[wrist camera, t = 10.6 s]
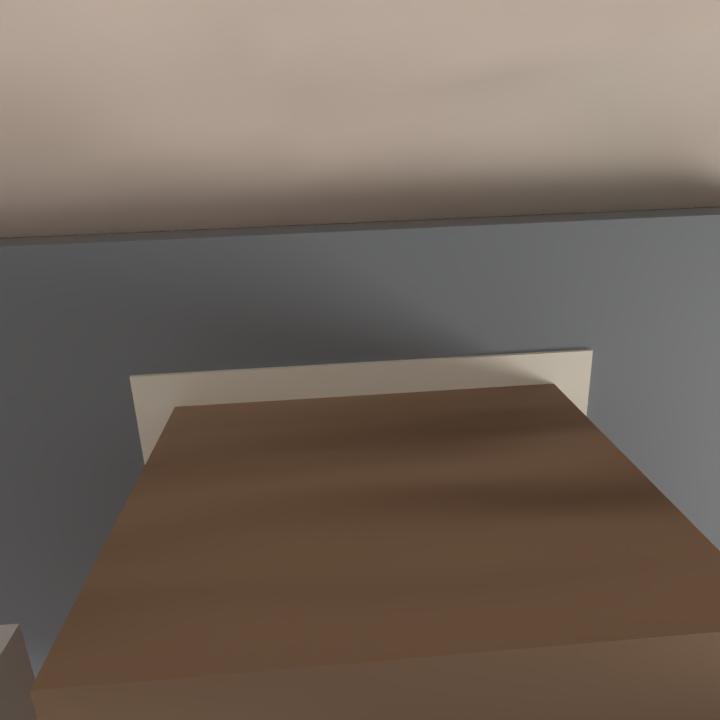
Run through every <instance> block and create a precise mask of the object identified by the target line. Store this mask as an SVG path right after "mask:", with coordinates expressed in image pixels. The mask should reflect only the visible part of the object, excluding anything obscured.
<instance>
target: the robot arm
mask: <svg viewBox="0 0 720 720" xmlns="http://www.w3.org/2000/svg"><path fill="white" fill-rule="evenodd" d="M34 681H35V677H34V673H33V670H32V666H31V663H30V659H29V656H28V652H27V649H26V645H25V642H24V638H23V635H22V631H21V628H20V624H7V625H0V720H37V717H36V713H35V710H34V706H33V703H32V699H31V696H30V692H29V691H30V689H31V687H32V685H33V683H34Z"/></svg>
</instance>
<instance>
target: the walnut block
mask: <svg viewBox="0 0 720 720" xmlns="http://www.w3.org/2000/svg"><path fill="white" fill-rule="evenodd" d="M29 692H30V696H31V699H32V703H33V706H34V710H35V713H36V717H37V720H720V551H719V550H718V549H717V548H716V547H715V546H714V545H713V544H712V543H711V542H710V541H709V540H708V539H707V538H706V537H705V536H704V535H703V534H702V533H701V532H700V531H699V530H698V529H697V528H696V527H695V526H694V524H693V523H692V522H691V521H690V520H689V519H688V518H687V517H686V516H685V515H684V514H683V513H682V512H681V511H680V510H679V509H678V508H677V507H676V506H675V505H674V504H673V503H672V502H671V501H670V500H669V499H668V498H667V497H666V496H665V495H664V494H663V493H662V492H661V491H660V490H659V489H658V488H657V487H656V486H655V485H654V484H653V483H652V482H651V481H650V480H649V479H648V478H647V477H646V476H645V475H644V474H643V473H642V472H641V471H640V470H639V469H638V468H637V467H636V466H635V465H634V464H633V463H632V462H631V461H630V460H629V459H628V458H627V457H626V456H625V455H624V454H623V453H622V452H621V451H620V450H619V449H618V448H617V447H616V446H615V445H614V444H613V443H612V442H611V441H610V440H609V439H608V438H607V437H606V436H605V435H604V434H603V433H602V432H601V431H600V430H599V429H598V428H597V427H596V426H595V425H594V424H593V423H592V422H591V421H590V419H589V418H588V417H587V416H586V415H585V414H584V413H583V412H582V411H581V410H580V409H579V408H578V407H577V406H576V405H575V404H574V403H573V402H572V401H571V400H570V399H569V398H568V397H567V396H566V395H565V394H564V393H563V392H562V391H561V390H560V389H559V388H558V387H557V386H556V385H555V384H539V385H522V386H506V387H490V388H474V389H457V390H441V391H425V392H408V393H392V394H376V395H360V396H343V397H327V398H311V399H294V400H278V401H262V402H246V403H229V404H213V405H197V406H181V407H175V408H174V410H173V412H172V414H171V415H170V417H169V419H168V421H167V423H166V425H165V427H164V429H163V431H162V433H161V435H160V437H159V439H158V441H157V443H156V445H155V447H154V449H153V451H152V453H151V455H150V456H149V458H148V460H147V462H146V464H145V466H144V468H143V470H142V472H141V474H140V476H139V478H138V480H137V482H136V484H135V486H134V488H133V490H132V492H131V494H130V495H129V497H128V499H127V501H126V503H125V505H124V507H123V509H122V511H121V513H120V515H119V517H118V519H117V521H116V523H115V525H114V527H113V529H112V531H111V533H110V535H109V536H108V538H107V540H106V542H105V544H104V546H103V548H102V550H101V552H100V554H99V556H98V558H97V560H96V562H95V564H94V566H93V568H92V570H91V572H90V574H89V576H88V577H87V579H86V581H85V583H84V585H83V587H82V589H81V591H80V593H79V595H78V597H77V599H76V601H75V603H74V605H73V607H72V609H71V611H70V613H69V615H68V616H67V618H66V620H65V622H64V624H63V626H62V628H61V630H60V632H59V634H58V636H57V638H56V640H55V642H54V644H53V646H52V648H51V650H50V652H49V654H48V656H47V657H46V659H45V661H44V663H43V665H42V667H41V669H40V671H39V673H38V675H37V677H36V679H35V681H34V683H33V685H32V687H31V689H30V691H29Z"/></svg>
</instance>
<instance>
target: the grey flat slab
mask: <svg viewBox="0 0 720 720" xmlns="http://www.w3.org/2000/svg"><path fill="white" fill-rule="evenodd" d="M539 384H555V385H556V386H557V387H558V388H559V389H560V390H561V391H562V392H563V393H564V394H565V395H566V396H567V397H568V398H569V399H570V400H571V401H572V402H573V403H574V404H575V405H576V406H577V407H578V408H579V409H580V410H581V411H582V412H583V413H584V414H585V415H586V416H587V417H588V418H589V419H590V421H591V422H592V423H593V424H594V425H595V426H596V427H597V428H598V429H599V430H600V431H601V432H602V433H603V434H604V435H605V436H606V437H607V438H608V439H609V440H610V441H611V442H612V443H613V444H614V445H615V446H616V447H617V448H618V449H619V450H620V451H621V452H622V453H623V454H624V455H625V456H626V457H627V458H628V459H629V460H630V461H631V462H632V463H633V464H634V465H635V466H636V467H637V468H638V469H639V470H640V471H641V472H642V473H643V474H644V475H645V476H646V477H647V478H648V479H649V480H650V481H651V482H652V483H653V484H654V485H655V486H656V487H657V488H658V489H659V490H660V491H661V492H662V493H663V494H664V495H665V496H666V497H667V498H668V499H669V500H670V501H671V502H672V503H673V504H674V505H675V506H676V507H677V508H678V509H679V510H680V511H681V512H682V513H683V514H684V515H685V516H686V517H687V518H688V519H689V520H690V521H691V522H692V523H693V524H694V526H695V527H696V528H697V529H698V530H699V531H700V532H701V533H702V534H703V535H704V536H705V537H706V538H707V539H708V540H709V541H710V542H711V543H712V544H713V545H714V546H715V547H716V548H717V549H718V550H719V551H720V207H706V208H684V209H661V210H638V211H615V212H592V213H570V214H547V215H524V216H501V217H479V218H456V219H433V220H410V221H387V222H365V223H342V224H319V225H296V226H274V227H251V228H228V229H205V230H182V231H160V232H137V233H114V234H91V235H68V236H46V237H23V238H0V625H7V624H20V628H21V631H22V635H23V638H24V642H25V645H26V649H27V652H28V656H29V659H30V663H31V666H32V670H33V673H34V677H35V679H36V677H37V675H38V673H39V671H40V669H41V667H42V665H43V663H44V661H45V659H46V657H47V656H48V654H49V652H50V650H51V648H52V646H53V644H54V642H55V640H56V638H57V636H58V634H59V632H60V630H61V628H62V626H63V624H64V622H65V620H66V618H67V616H68V615H69V613H70V611H71V609H72V607H73V605H74V603H75V601H76V599H77V597H78V595H79V593H80V591H81V589H82V587H83V585H84V583H85V581H86V579H87V577H88V576H89V574H90V572H91V570H92V568H93V566H94V564H95V562H96V560H97V558H98V556H99V554H100V552H101V550H102V548H103V546H104V544H105V542H106V540H107V538H108V536H109V535H110V533H111V531H112V529H113V527H114V525H115V523H116V521H117V519H118V517H119V515H120V513H121V511H122V509H123V507H124V505H125V503H126V501H127V499H128V497H129V495H130V494H131V492H132V490H133V488H134V486H135V484H136V482H137V480H138V478H139V476H140V474H141V472H142V470H143V468H144V466H145V464H146V462H147V460H148V458H149V456H150V455H151V453H152V451H153V449H154V447H155V445H156V443H157V441H158V439H159V437H160V435H161V433H162V431H163V429H164V427H165V425H166V423H167V421H168V419H169V417H170V415H171V414H172V412H173V410H174V408H175V407H181V406H197V405H213V404H229V403H246V402H262V401H278V400H294V399H311V398H327V397H343V396H360V395H376V394H392V393H408V392H425V391H441V390H457V389H474V388H490V387H506V386H522V385H539Z"/></svg>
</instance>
